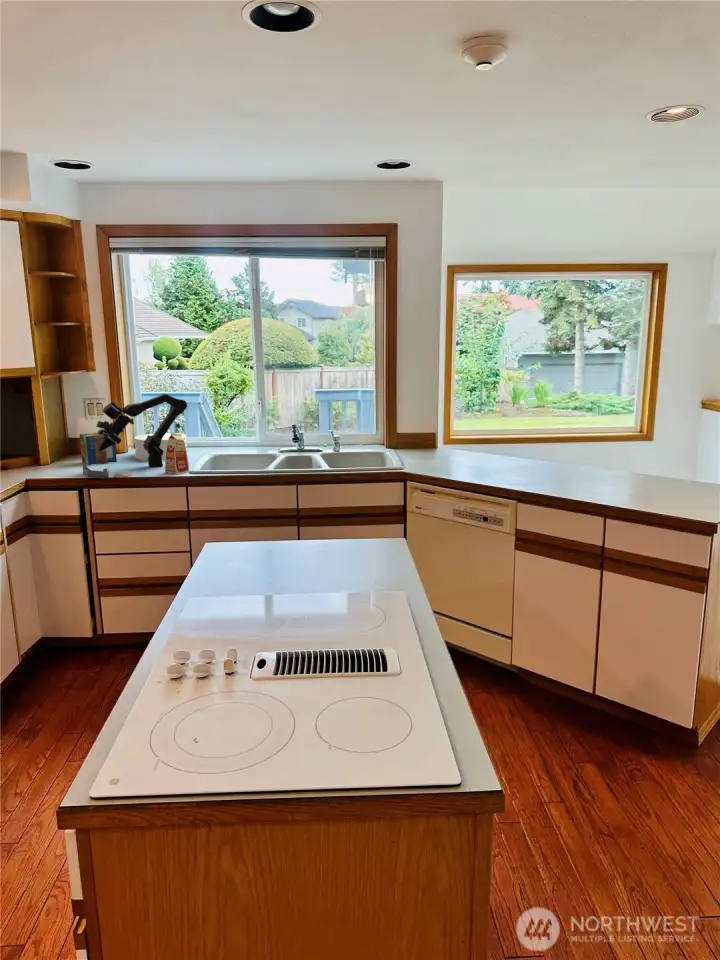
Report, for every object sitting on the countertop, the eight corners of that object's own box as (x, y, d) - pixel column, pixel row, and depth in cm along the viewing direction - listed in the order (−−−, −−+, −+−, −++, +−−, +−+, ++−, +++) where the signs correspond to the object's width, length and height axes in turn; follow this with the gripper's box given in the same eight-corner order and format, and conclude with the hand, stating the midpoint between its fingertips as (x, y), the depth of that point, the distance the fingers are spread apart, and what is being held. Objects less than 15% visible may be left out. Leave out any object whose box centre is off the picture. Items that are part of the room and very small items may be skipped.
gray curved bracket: (86, 473, 315) (85, 463, 314) (109, 478, 302) (108, 468, 301) (77, 474, 311) (76, 465, 310) (100, 480, 299) (99, 470, 298)
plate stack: (157, 451, 378) (156, 432, 376) (197, 454, 368) (196, 434, 366) (124, 459, 353) (123, 438, 350) (166, 462, 343) (165, 441, 340)
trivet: (133, 474, 312) (132, 472, 312) (130, 477, 304) (130, 475, 304) (115, 474, 310) (115, 473, 310) (113, 478, 303) (112, 476, 302)
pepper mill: (108, 462, 317) (105, 434, 314) (106, 464, 313) (103, 435, 310) (98, 462, 316) (95, 434, 313) (96, 464, 312) (93, 435, 309)
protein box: (81, 462, 342) (79, 434, 339) (111, 459, 352) (108, 431, 348) (87, 465, 334) (85, 436, 331) (117, 462, 344) (115, 433, 340)
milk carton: (177, 474, 311) (174, 433, 306) (164, 472, 316) (161, 432, 311) (191, 471, 318) (188, 431, 314) (178, 469, 323) (175, 430, 319)
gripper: (100, 413, 319) (79, 437, 315) (112, 416, 305) (90, 441, 300) (117, 427, 325) (97, 451, 321) (130, 431, 311) (109, 456, 307)
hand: (98, 449), depth 312 cm, fingers closed on pepper mill, 5 cm apart
